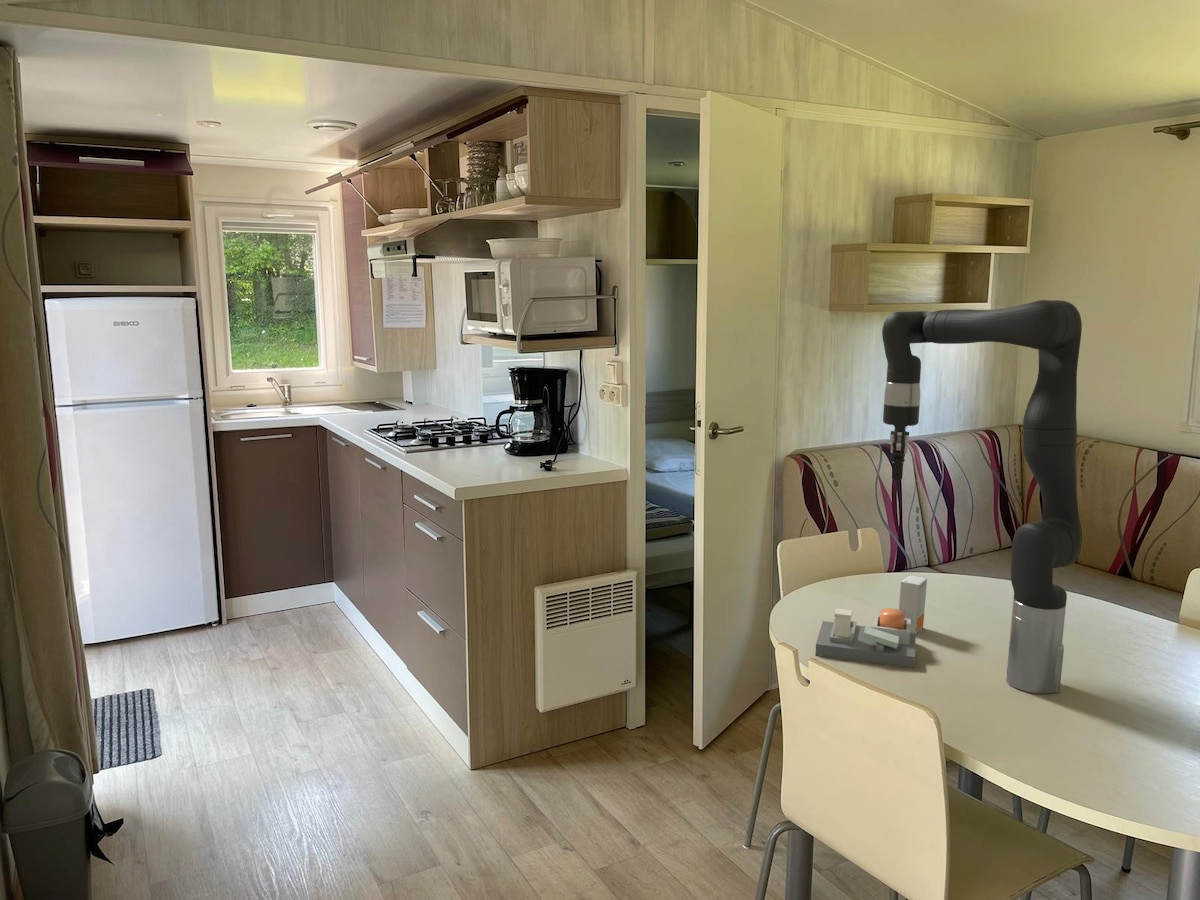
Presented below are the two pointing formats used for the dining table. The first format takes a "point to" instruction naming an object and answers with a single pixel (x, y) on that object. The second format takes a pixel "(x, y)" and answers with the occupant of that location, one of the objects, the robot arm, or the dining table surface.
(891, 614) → the orange piece
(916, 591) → the skincare box
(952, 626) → the dining table surface
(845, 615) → the lever
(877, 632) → the block
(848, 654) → the panel
